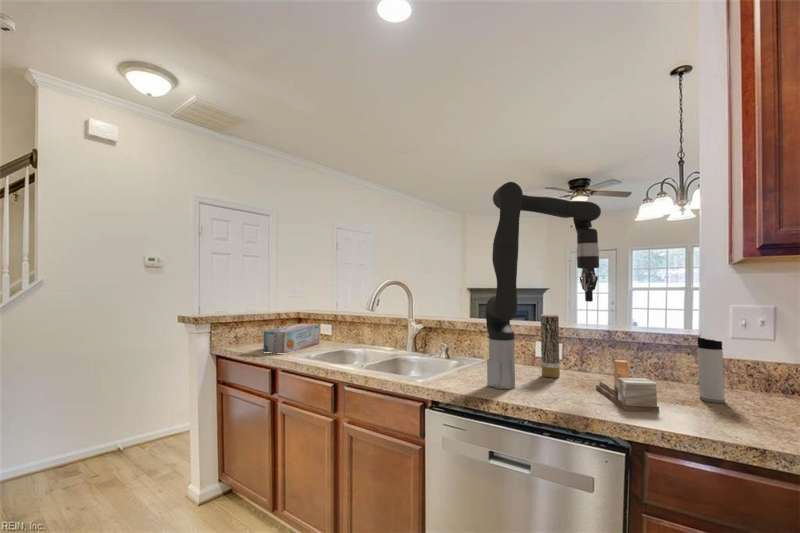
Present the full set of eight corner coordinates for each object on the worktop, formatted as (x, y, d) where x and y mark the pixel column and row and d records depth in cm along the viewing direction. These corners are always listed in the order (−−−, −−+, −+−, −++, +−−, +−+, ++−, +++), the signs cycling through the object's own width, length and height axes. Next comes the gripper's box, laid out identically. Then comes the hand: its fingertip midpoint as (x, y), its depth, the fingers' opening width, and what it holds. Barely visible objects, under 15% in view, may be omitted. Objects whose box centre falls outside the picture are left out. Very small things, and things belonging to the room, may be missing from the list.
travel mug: (693, 397, 124) (691, 336, 125) (712, 397, 125) (709, 336, 126) (710, 403, 118) (708, 339, 119) (730, 403, 118) (727, 339, 119)
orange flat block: (644, 402, 113) (643, 368, 114) (632, 401, 114) (630, 368, 114) (625, 390, 126) (624, 360, 126) (614, 390, 126) (613, 360, 127)
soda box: (300, 343, 245) (300, 323, 245) (320, 344, 241) (320, 323, 242) (262, 354, 205) (262, 330, 206) (284, 355, 202) (285, 331, 203)
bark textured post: (556, 374, 157) (555, 314, 158) (562, 378, 150) (560, 315, 151) (539, 374, 157) (538, 314, 159) (544, 378, 151) (543, 315, 152)
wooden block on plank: (659, 412, 110) (658, 383, 111) (626, 410, 111) (625, 382, 112) (622, 389, 134) (622, 366, 134) (596, 388, 135) (595, 365, 136)
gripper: (605, 254, 136) (606, 302, 136) (591, 257, 150) (593, 300, 149) (583, 254, 138) (584, 302, 137) (572, 257, 151) (573, 300, 150)
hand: (588, 301), depth 143 cm, fingers closed
